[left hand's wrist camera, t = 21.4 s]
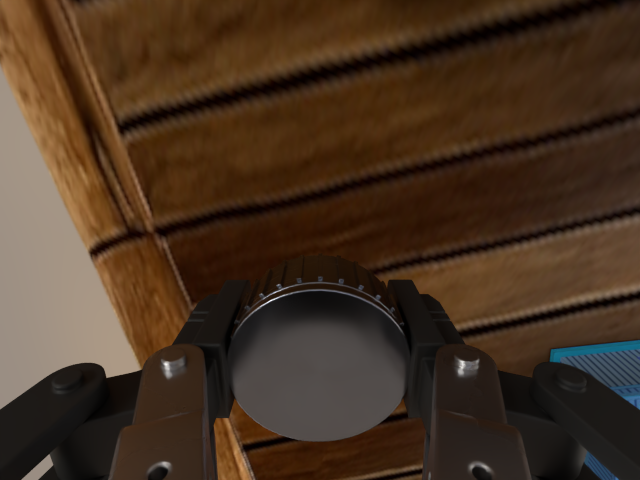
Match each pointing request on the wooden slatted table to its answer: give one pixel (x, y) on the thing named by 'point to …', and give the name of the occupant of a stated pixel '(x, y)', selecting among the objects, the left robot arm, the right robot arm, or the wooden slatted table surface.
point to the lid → (318, 350)
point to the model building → (606, 376)
